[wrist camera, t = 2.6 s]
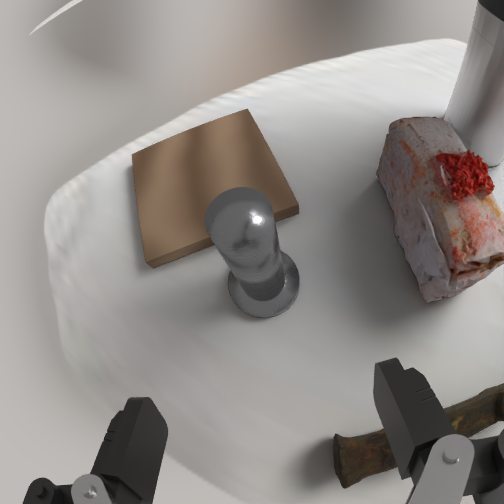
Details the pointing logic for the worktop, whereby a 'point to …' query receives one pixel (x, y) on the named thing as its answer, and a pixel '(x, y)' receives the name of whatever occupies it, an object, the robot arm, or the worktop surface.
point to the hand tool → (378, 448)
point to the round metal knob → (252, 252)
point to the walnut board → (202, 182)
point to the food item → (441, 206)
